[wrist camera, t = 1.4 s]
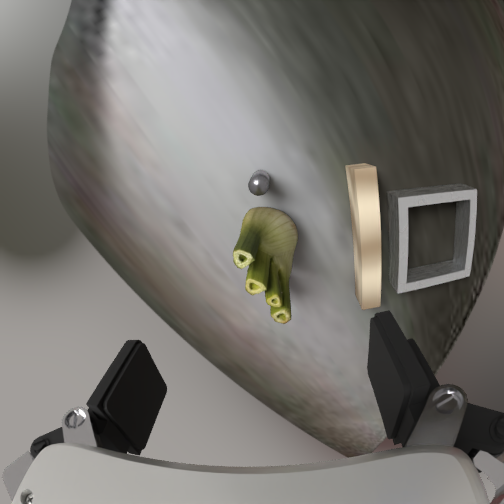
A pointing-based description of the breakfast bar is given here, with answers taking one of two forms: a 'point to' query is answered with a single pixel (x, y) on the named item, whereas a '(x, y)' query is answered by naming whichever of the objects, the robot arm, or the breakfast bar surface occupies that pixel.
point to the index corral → (398, 236)
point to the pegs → (259, 183)
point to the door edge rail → (365, 233)
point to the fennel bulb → (268, 257)
